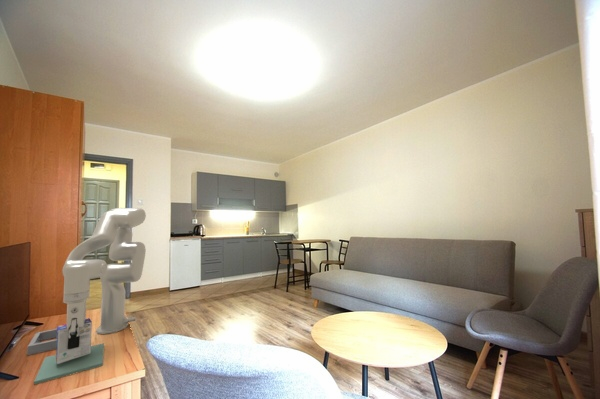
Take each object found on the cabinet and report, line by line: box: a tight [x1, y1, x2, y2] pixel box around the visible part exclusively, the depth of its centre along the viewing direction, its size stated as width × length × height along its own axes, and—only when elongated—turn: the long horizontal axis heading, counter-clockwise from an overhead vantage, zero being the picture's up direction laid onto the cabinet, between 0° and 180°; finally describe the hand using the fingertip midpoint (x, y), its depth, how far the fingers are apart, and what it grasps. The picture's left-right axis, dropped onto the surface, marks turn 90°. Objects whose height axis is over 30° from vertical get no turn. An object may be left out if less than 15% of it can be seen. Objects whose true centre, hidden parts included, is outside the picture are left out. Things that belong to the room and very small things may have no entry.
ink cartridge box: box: [55, 318, 92, 364], centre depth 97 cm, size 10×6×14 cm, turn 138°
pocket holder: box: [26, 328, 57, 356], centre depth 112 cm, size 15×15×4 cm
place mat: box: [33, 343, 105, 386], centre depth 97 cm, size 18×18×1 cm
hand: (74, 343), depth 97 cm, fingers closed on ink cartridge box, 6 cm apart
